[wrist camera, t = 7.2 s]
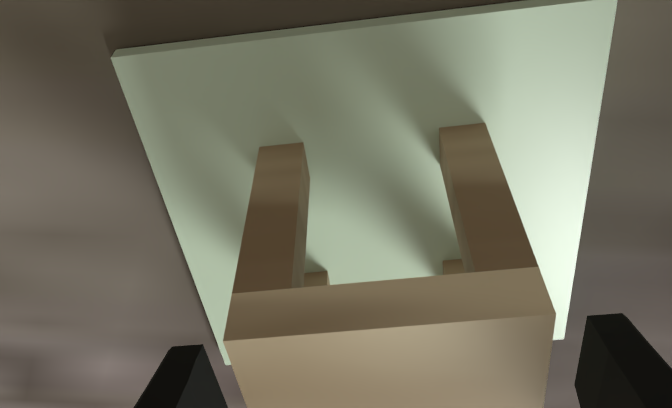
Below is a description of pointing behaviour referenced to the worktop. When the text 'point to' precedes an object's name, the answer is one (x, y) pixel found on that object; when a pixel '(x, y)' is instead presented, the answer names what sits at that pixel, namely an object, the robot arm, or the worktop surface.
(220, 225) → the mat
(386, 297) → the stool
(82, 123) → the worktop surface
